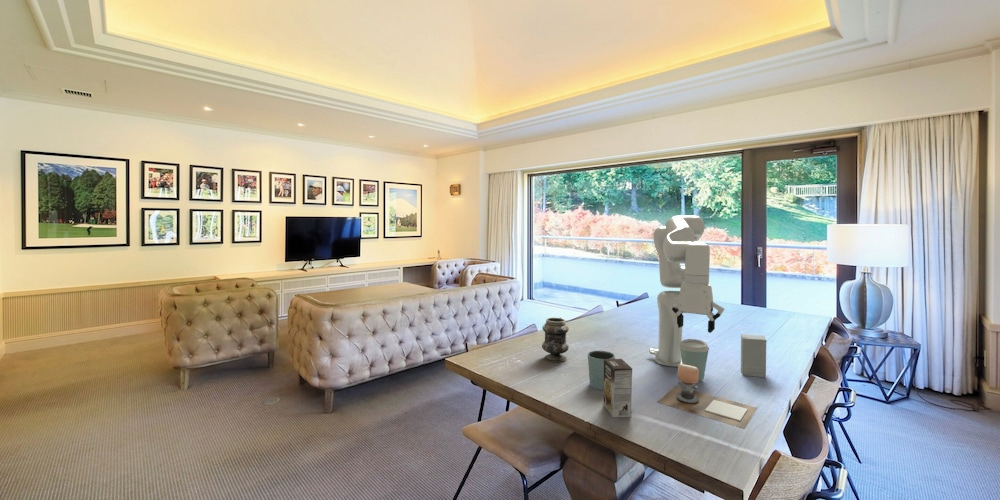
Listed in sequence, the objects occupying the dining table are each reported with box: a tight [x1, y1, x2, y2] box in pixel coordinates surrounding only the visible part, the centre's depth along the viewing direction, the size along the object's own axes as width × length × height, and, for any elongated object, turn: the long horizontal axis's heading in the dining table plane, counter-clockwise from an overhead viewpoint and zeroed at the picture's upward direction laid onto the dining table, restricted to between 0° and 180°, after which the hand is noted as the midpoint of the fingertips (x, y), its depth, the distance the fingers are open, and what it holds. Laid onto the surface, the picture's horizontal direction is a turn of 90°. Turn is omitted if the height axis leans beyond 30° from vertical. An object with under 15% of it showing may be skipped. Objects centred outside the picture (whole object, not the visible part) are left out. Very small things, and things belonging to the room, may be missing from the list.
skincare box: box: [740, 333, 768, 378], centre depth 162 cm, size 8×7×16 cm
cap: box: [677, 364, 699, 384], centre depth 137 cm, size 6×6×5 cm
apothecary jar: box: [541, 317, 570, 363], centre depth 182 cm, size 12×12×18 cm
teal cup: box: [587, 350, 616, 391], centre depth 152 cm, size 10×10×12 cm
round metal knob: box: [676, 380, 699, 404], centre depth 138 cm, size 7×7×7 cm
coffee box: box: [602, 358, 633, 418], centre depth 132 cm, size 9×6×16 cm
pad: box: [705, 400, 748, 421], centre depth 130 cm, size 10×10×1 cm
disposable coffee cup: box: [679, 338, 710, 382], centre depth 157 cm, size 11×11×15 cm
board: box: [656, 385, 758, 430], centre depth 134 cm, size 26×18×1 cm
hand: (695, 329), depth 138 cm, fingers open, 9 cm apart
